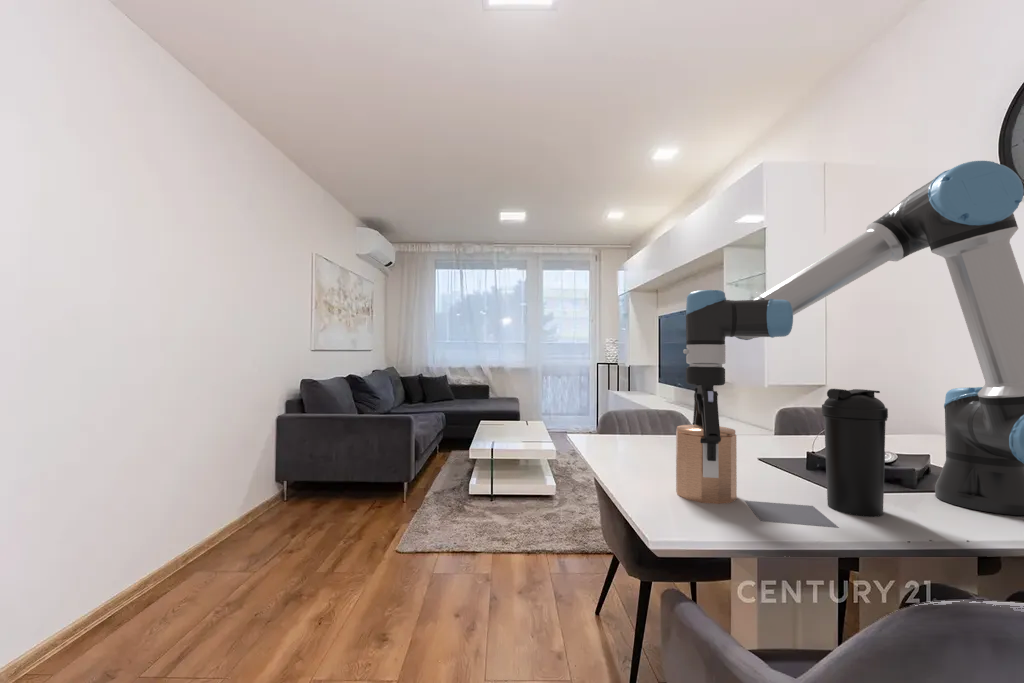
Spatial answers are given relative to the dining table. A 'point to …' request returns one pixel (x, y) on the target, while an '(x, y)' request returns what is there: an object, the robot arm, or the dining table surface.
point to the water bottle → (855, 451)
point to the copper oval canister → (691, 466)
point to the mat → (789, 514)
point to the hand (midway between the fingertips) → (705, 469)
